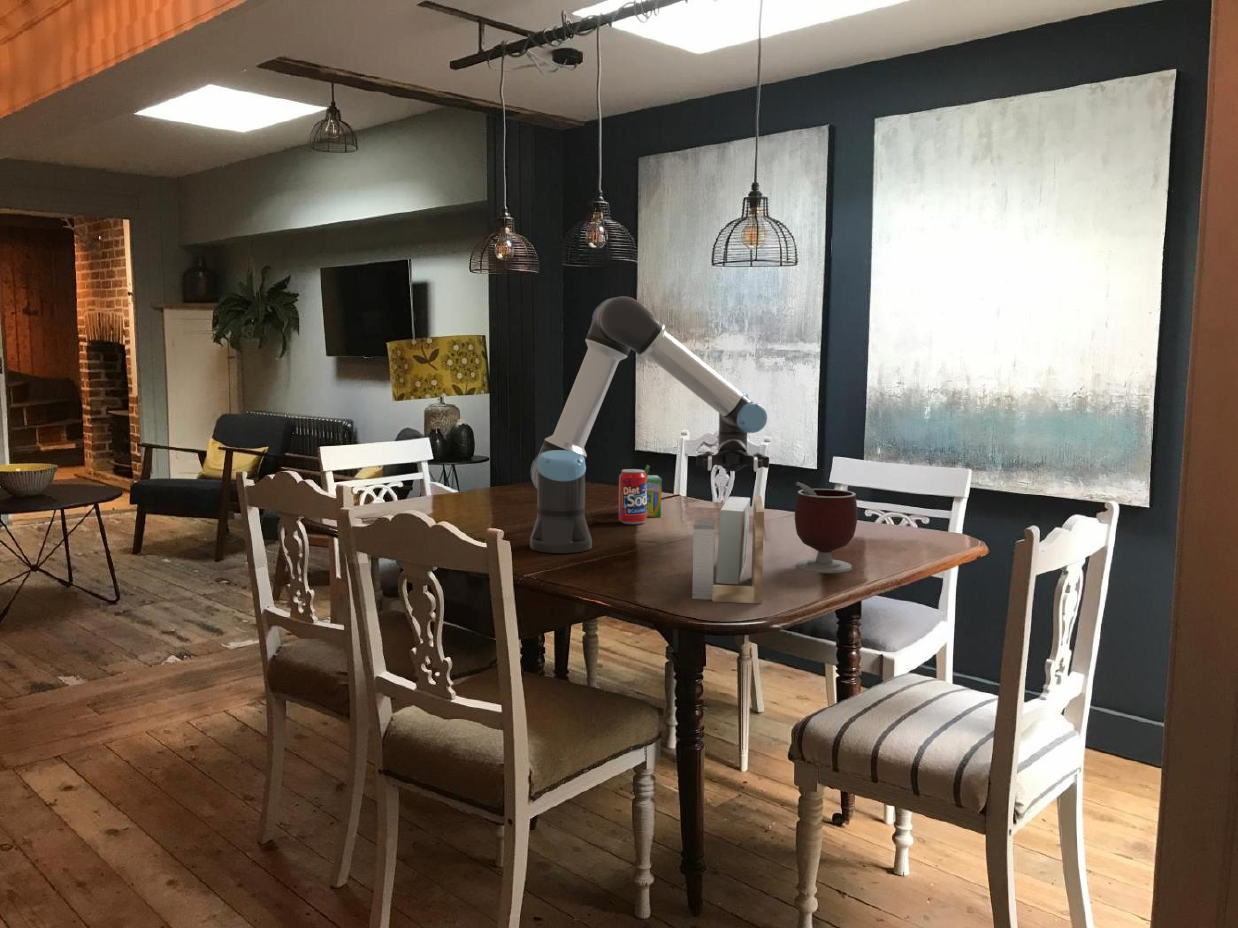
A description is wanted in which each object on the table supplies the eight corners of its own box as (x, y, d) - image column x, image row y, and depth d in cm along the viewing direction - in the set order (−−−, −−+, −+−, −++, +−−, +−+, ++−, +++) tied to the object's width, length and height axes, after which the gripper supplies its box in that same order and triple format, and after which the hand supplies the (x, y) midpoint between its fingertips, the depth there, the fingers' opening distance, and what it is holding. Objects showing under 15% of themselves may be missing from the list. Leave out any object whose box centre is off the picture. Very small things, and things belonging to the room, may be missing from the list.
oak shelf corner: (712, 601, 195) (714, 510, 193) (714, 576, 217) (716, 494, 215) (761, 603, 194) (764, 511, 192) (758, 577, 216) (760, 495, 214)
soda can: (630, 519, 287) (631, 467, 285) (652, 522, 282) (652, 470, 281) (612, 523, 281) (613, 470, 279) (634, 526, 276) (635, 472, 274)
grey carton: (692, 598, 197) (693, 524, 195) (693, 589, 205) (695, 518, 203) (712, 599, 197) (714, 525, 195) (713, 589, 205) (715, 518, 203)
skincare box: (741, 585, 209) (743, 510, 207) (715, 584, 210) (717, 509, 208) (748, 564, 229) (750, 496, 227) (725, 563, 230) (726, 495, 228)
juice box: (626, 512, 299) (626, 463, 298) (656, 512, 300) (657, 463, 299) (630, 517, 290) (631, 467, 288) (661, 517, 291) (662, 467, 290)
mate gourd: (827, 558, 237) (830, 474, 235) (868, 570, 225) (871, 482, 222) (775, 564, 230) (777, 478, 227) (813, 576, 217) (817, 485, 215)
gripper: (777, 470, 254) (781, 482, 232) (687, 468, 257) (683, 480, 235) (777, 441, 253) (782, 450, 231) (688, 439, 256) (684, 448, 234)
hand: (732, 465), depth 233 cm, fingers open, 10 cm apart
